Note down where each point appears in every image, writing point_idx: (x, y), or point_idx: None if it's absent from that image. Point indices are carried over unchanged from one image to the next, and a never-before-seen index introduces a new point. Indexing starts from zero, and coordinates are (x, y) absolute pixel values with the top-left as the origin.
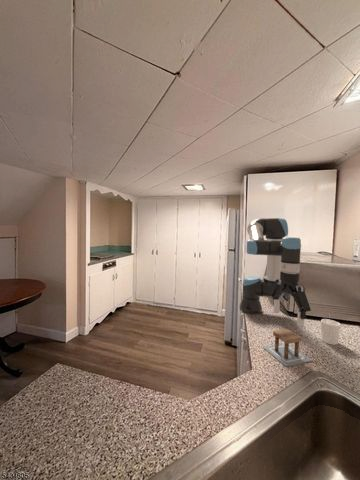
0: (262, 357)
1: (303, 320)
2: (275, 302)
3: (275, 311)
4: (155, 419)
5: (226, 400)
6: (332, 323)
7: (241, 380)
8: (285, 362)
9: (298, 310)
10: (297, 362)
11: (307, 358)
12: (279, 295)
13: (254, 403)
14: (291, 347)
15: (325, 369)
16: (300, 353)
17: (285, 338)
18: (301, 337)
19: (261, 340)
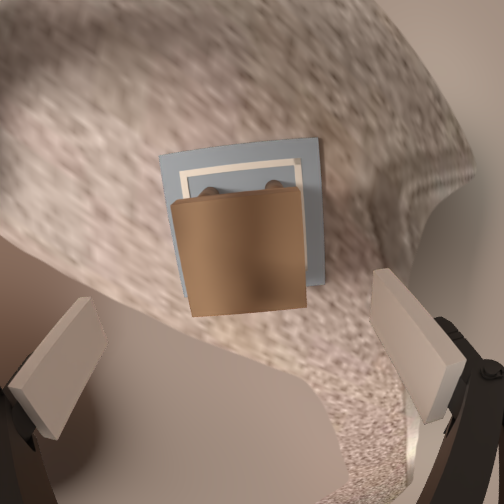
0: (252, 333)
1: (409, 298)
2: (66, 414)
3: (100, 346)
4: (353, 498)
5: (368, 447)
6: None
7: (334, 420)
8: (306, 272)
9: (429, 420)
10: (319, 222)
11: (302, 150)
12: (28, 467)
13: (397, 414)
14: (201, 159)
15: (374, 132)
16: (259, 152)
17: (291, 305)
18: (300, 192)
19: (124, 265)
